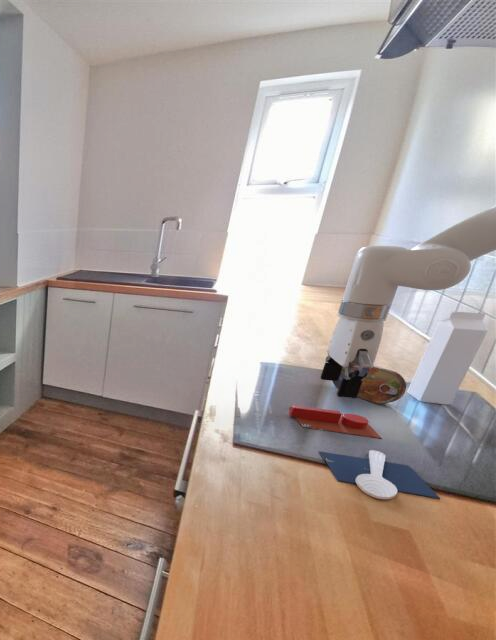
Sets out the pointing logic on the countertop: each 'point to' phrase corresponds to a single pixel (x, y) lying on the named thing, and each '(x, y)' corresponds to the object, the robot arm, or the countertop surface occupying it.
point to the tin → (379, 385)
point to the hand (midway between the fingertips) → (337, 388)
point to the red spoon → (328, 416)
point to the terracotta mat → (340, 427)
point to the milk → (448, 357)
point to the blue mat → (406, 482)
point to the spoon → (376, 478)
